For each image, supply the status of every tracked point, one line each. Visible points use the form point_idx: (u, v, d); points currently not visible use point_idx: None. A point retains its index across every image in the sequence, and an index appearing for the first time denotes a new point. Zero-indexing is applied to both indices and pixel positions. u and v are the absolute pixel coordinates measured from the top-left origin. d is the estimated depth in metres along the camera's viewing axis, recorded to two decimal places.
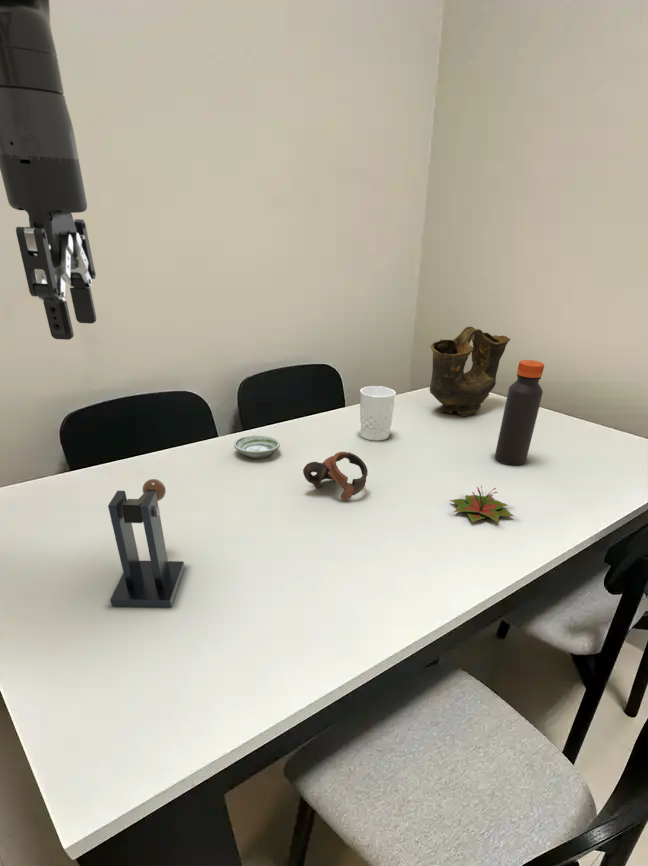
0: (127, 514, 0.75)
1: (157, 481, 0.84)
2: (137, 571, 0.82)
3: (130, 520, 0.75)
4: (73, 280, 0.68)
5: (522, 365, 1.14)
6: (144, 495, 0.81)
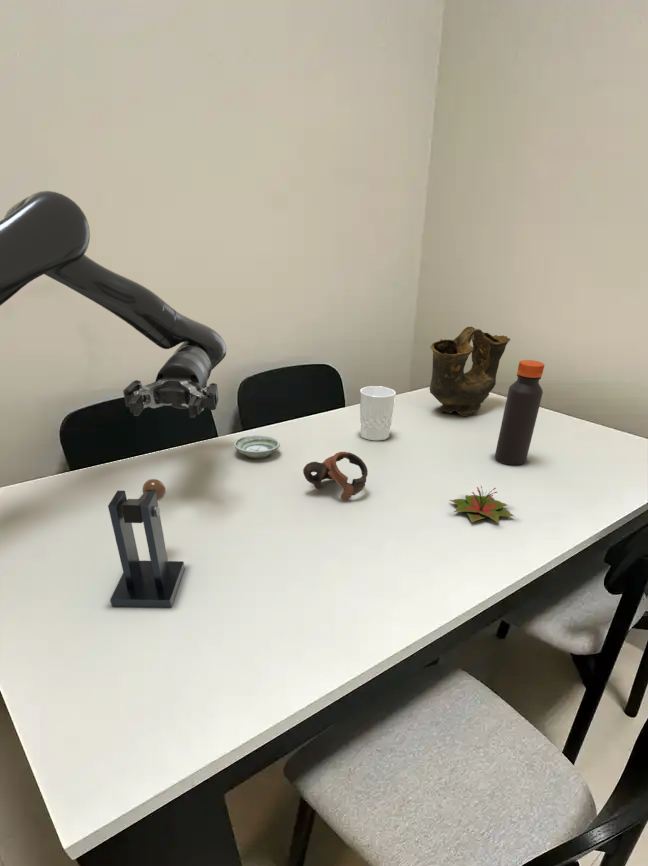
0: (127, 514, 0.75)
1: (157, 481, 0.84)
2: (137, 571, 0.82)
3: (130, 520, 0.75)
4: (142, 396, 0.92)
5: (522, 365, 1.14)
6: (144, 495, 0.81)
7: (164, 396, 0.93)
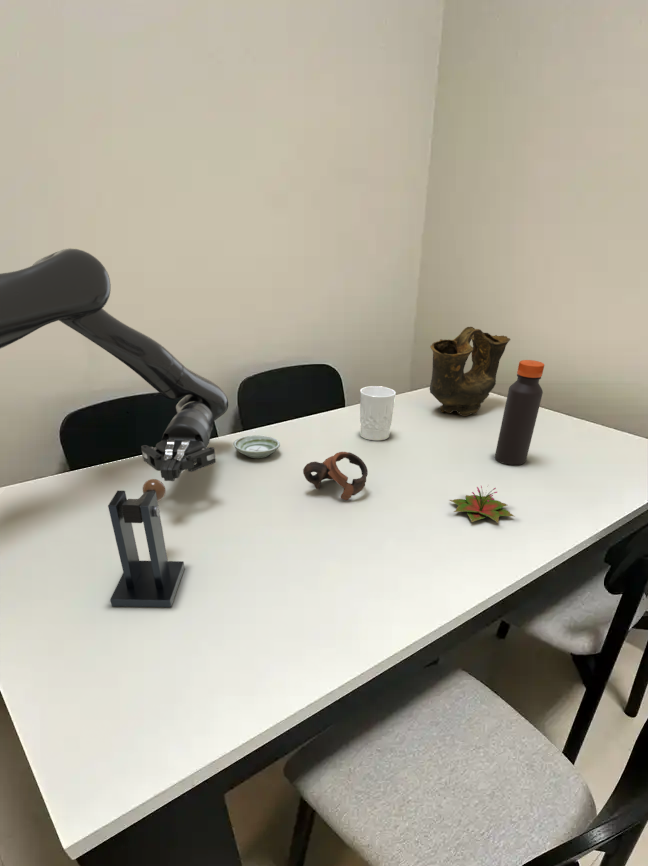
0: (127, 514, 0.75)
1: (157, 481, 0.84)
2: (137, 571, 0.82)
3: (130, 520, 0.75)
4: None
5: (522, 365, 1.14)
6: (144, 495, 0.81)
7: None
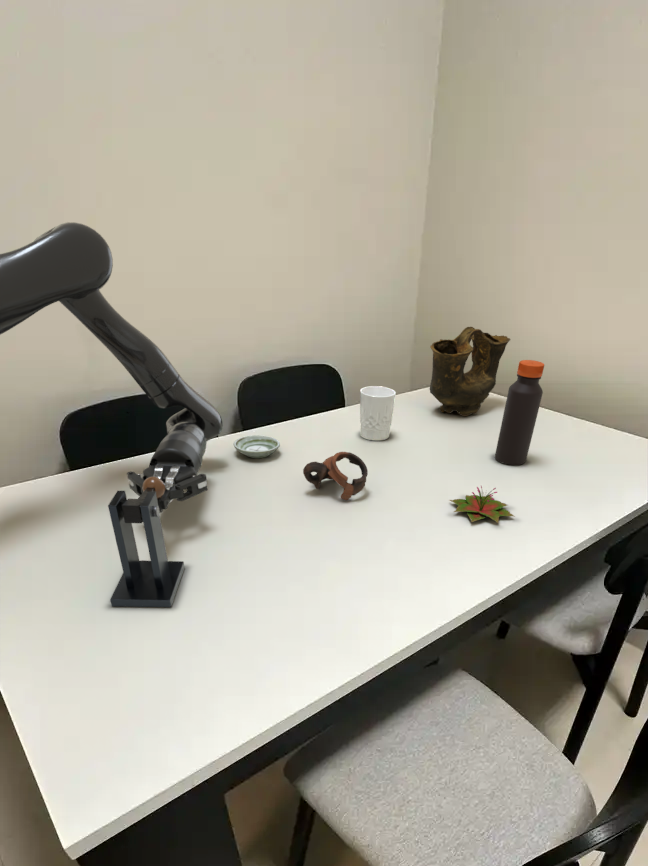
0: (127, 514, 0.75)
1: (157, 479, 0.84)
2: (137, 571, 0.82)
3: (130, 520, 0.75)
4: None
5: (522, 365, 1.14)
6: (144, 494, 0.81)
7: None
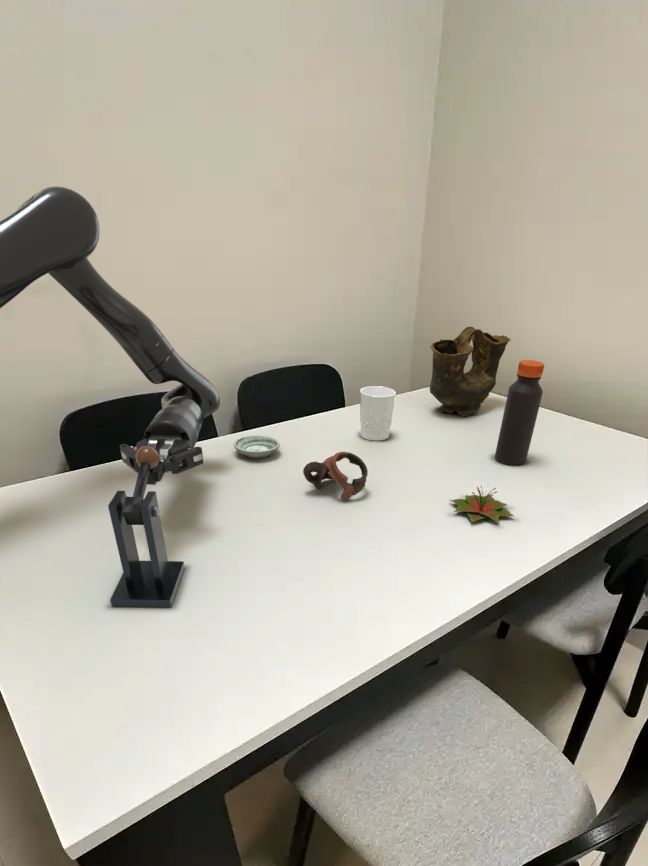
0: (128, 519, 0.75)
1: (150, 451, 0.80)
2: (137, 571, 0.82)
3: (132, 523, 0.76)
4: None
5: (522, 365, 1.14)
6: (140, 478, 0.79)
7: None
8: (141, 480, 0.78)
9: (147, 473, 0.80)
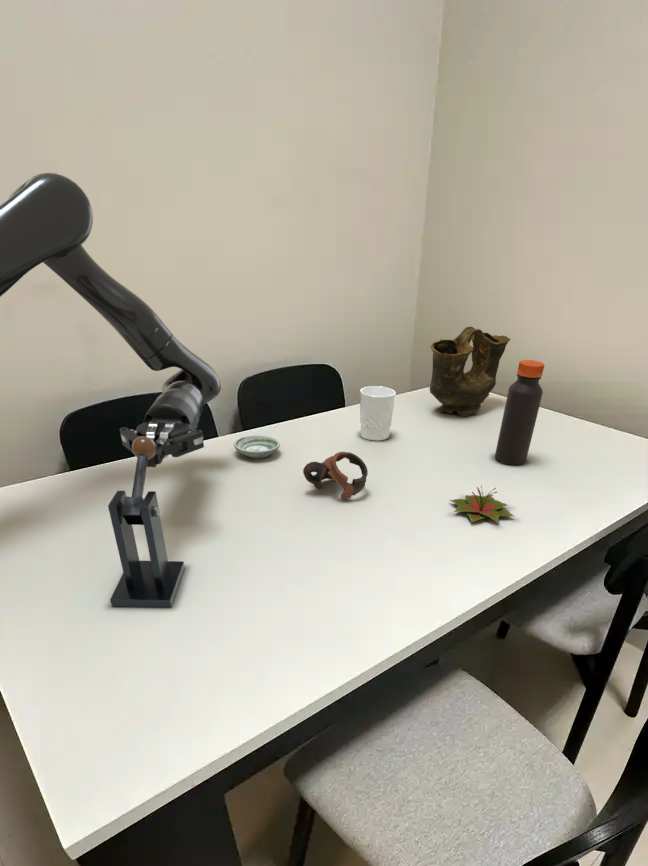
0: (129, 520, 0.76)
1: (146, 443, 0.78)
2: (137, 571, 0.82)
3: (133, 523, 0.76)
4: None
5: (522, 365, 1.14)
6: (137, 473, 0.78)
7: None
8: (139, 476, 0.77)
9: (145, 467, 0.78)
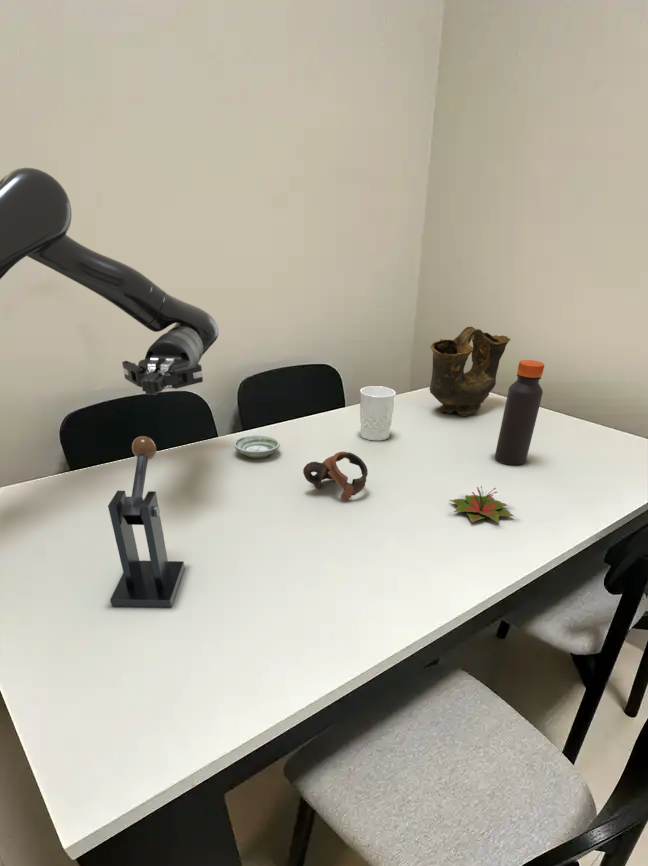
0: (129, 520, 0.76)
1: (146, 443, 0.78)
2: (137, 571, 0.82)
3: (133, 523, 0.76)
4: None
5: (522, 365, 1.14)
6: (137, 473, 0.78)
7: None
8: (139, 476, 0.77)
9: (145, 467, 0.78)
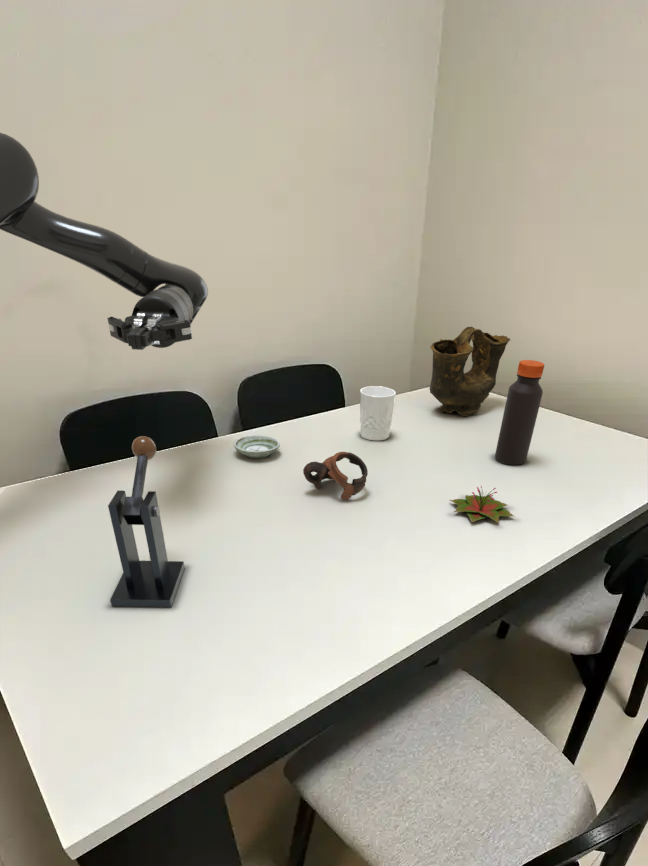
0: (129, 520, 0.76)
1: (146, 443, 0.78)
2: (137, 571, 0.82)
3: (133, 523, 0.76)
4: None
5: (522, 365, 1.14)
6: (137, 473, 0.78)
7: None
8: (139, 476, 0.77)
9: (145, 467, 0.78)
